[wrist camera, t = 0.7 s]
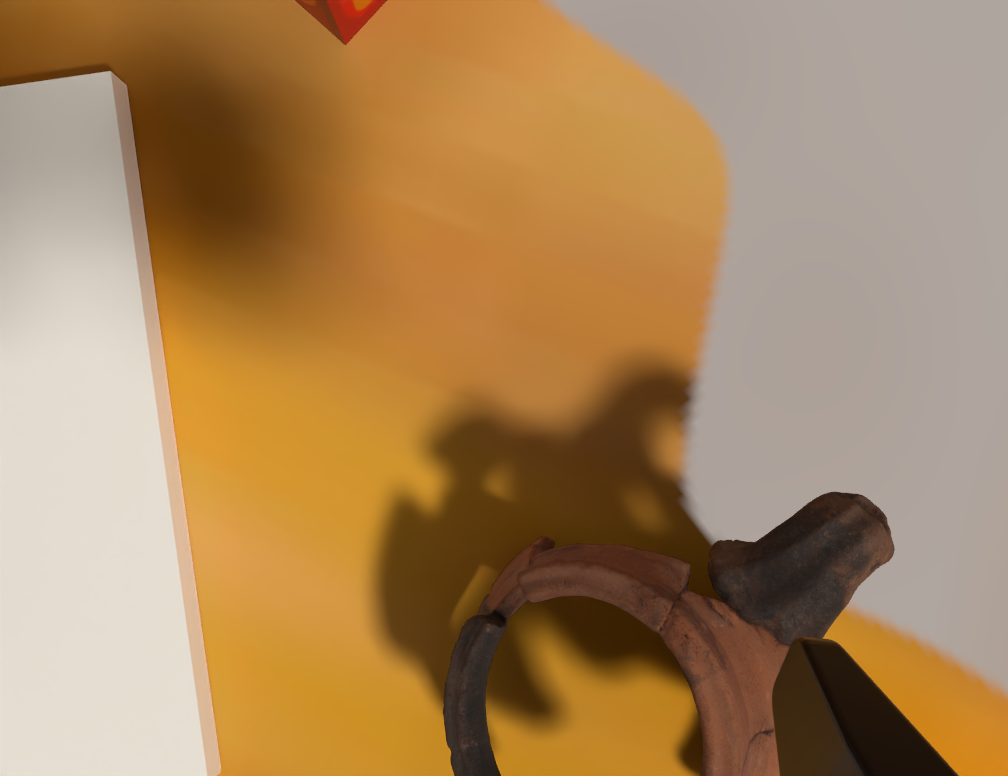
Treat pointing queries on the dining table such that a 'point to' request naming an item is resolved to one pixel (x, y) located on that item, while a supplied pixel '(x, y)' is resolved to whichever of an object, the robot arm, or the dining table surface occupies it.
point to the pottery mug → (689, 621)
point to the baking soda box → (342, 15)
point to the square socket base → (89, 459)
